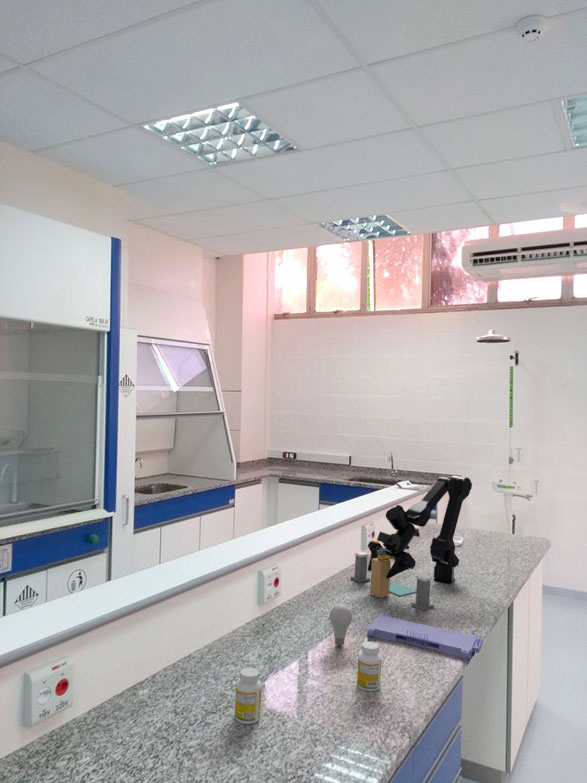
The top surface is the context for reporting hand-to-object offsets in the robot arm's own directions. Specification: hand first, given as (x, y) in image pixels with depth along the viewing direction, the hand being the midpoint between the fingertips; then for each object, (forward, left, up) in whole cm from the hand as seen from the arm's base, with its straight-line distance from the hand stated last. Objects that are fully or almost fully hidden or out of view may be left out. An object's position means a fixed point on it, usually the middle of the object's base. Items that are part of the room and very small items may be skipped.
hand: (377, 574), depth 203 cm
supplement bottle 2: (-22, +60, -7) cm, 64 cm away
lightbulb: (-7, +44, -7) cm, 45 cm away
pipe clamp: (+14, -47, -8) cm, 50 cm away
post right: (+11, -12, -7) cm, 18 cm away
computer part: (-25, +26, -8) cm, 37 cm away
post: (-16, +1, -7) cm, 18 cm away
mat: (-5, -10, -7) cm, 13 cm away
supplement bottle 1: (-6, +87, -7) cm, 87 cm away
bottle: (-1, -1, -7) cm, 7 cm away
